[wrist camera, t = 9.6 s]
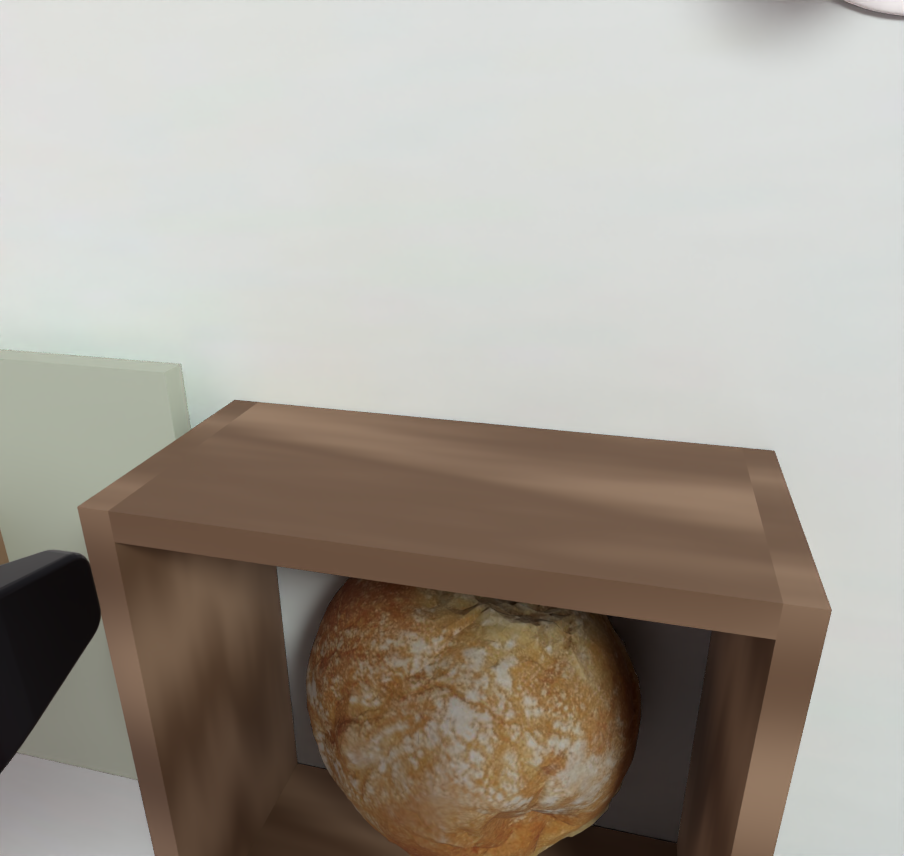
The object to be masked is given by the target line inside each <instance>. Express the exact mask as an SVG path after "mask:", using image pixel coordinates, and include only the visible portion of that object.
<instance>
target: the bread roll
mask: <svg viewBox="0 0 904 856" xmlns="http://www.w3.org/2000/svg"><path fill="white" fill-rule="evenodd" d="M306 692H307V709H308V713H309V716H310V721H311V727H312V731H313V736H314V738H315V740H316V742H317V745H318V749H319V752H320V755H321V758H322V760H323V762H324V765H325V767H326V768H327V770H328V772H329V773H330V775H331V776H332V778H333V779H334V781H335V782H336V783H337V785H338V786H339V787H340V789H341V790H342V791H343V792H344V794H345V795H346V797H347V799H349V800H350V801H351V802H352V804H353V805H354V807H355V809H356V810H357V811H358V812H359V813H360V814H361V815H362V817H363V818H364V819H365V820H366V821H367V822H368V823H369V824H370V825H371V826H372V827H373V828H374V829H375V830H377V831H378V832H379V833H381V834H382V835H383V836H384V837H386V838H387V840H388V841H389V842H392V843H394V844H396V845H398V846H399V847H401V848H402V849H403V850H405V851H406V852H407V853H408V854H409V855H410V856H537V855H538V854H539V853H541V852H542V851H544V850H546V849H547V848H549V847H551V846H552V845H554V844H555V843H557V842H558V841H559V840H561V839H564V838H565V837H573V836H574V835H576V834H578V833H580V832H582V831H584V830H585V829H587V828H588V827H590V826H591V825H593V824H594V823H595V822H596V821H597V820H598V819H599V818H600V816H601V815H602V814H603V813H605V812H606V811H607V810H608V809H609V803H610V802H611V800H612V798H613V797H614V796H615V795H616V794H617V793H618V791H619V790H620V788H621V785H622V781H623V779H624V777H625V775H626V773H627V771H628V769H629V767H630V765H631V763H632V760H633V757H634V753H635V749H636V744H637V738H638V732H639V726H640V721H641V692H640V687H639V678H638V676H637V675H636V673H635V670H634V667H633V664H632V661H631V660H630V658H629V655H628V653H627V652H626V648H625V642H624V641H622V640H621V639H620V638H619V636H618V635H617V633H616V632H615V630H614V629H613V627H612V626H611V623H610V621H609V619H608V617H607V615H604V614H598V613H591V612H584V611H577V610H570V609H564V608H557V607H550V606H543V605H537V604H530V603H523V602H516V601H510V600H503V599H496V598H489V597H482V596H476V595H469V594H462V593H455V592H449V591H442V590H435V589H428V588H421V587H415V586H408V585H401V584H394V583H388V582H381V581H374V580H367V579H360V578H354V577H350V578H349V579H348V580H347V581H346V582H345V583H344V585H343V586H342V587H341V588H340V589H339V591H338V592H337V593H336V595H335V596H334V597H333V599H332V601H331V602H330V604H329V605H328V607H327V610H326V612H325V614H324V616H323V618H322V621H321V623H320V626H319V629H318V632H317V635H316V638H315V640H314V643H313V646H312V649H311V653H310V658H309V662H308V666H307V675H306Z"/></svg>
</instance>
